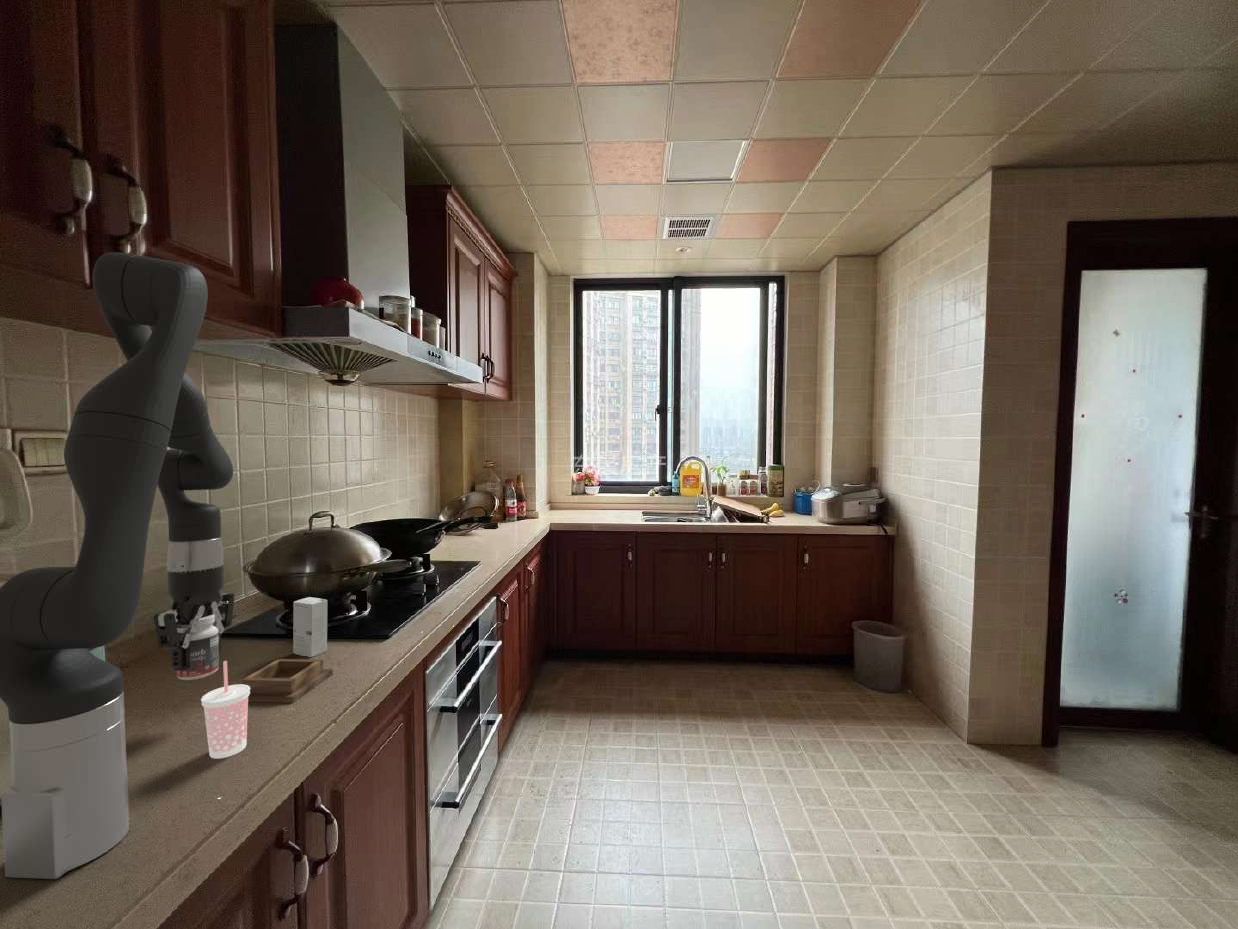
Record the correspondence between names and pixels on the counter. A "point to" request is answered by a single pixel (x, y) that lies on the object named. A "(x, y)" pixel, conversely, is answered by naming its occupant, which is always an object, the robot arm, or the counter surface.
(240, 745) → the beverage cup
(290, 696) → the wooden tray
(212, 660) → the pill bottle
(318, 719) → the counter surface
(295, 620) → the skincare box
